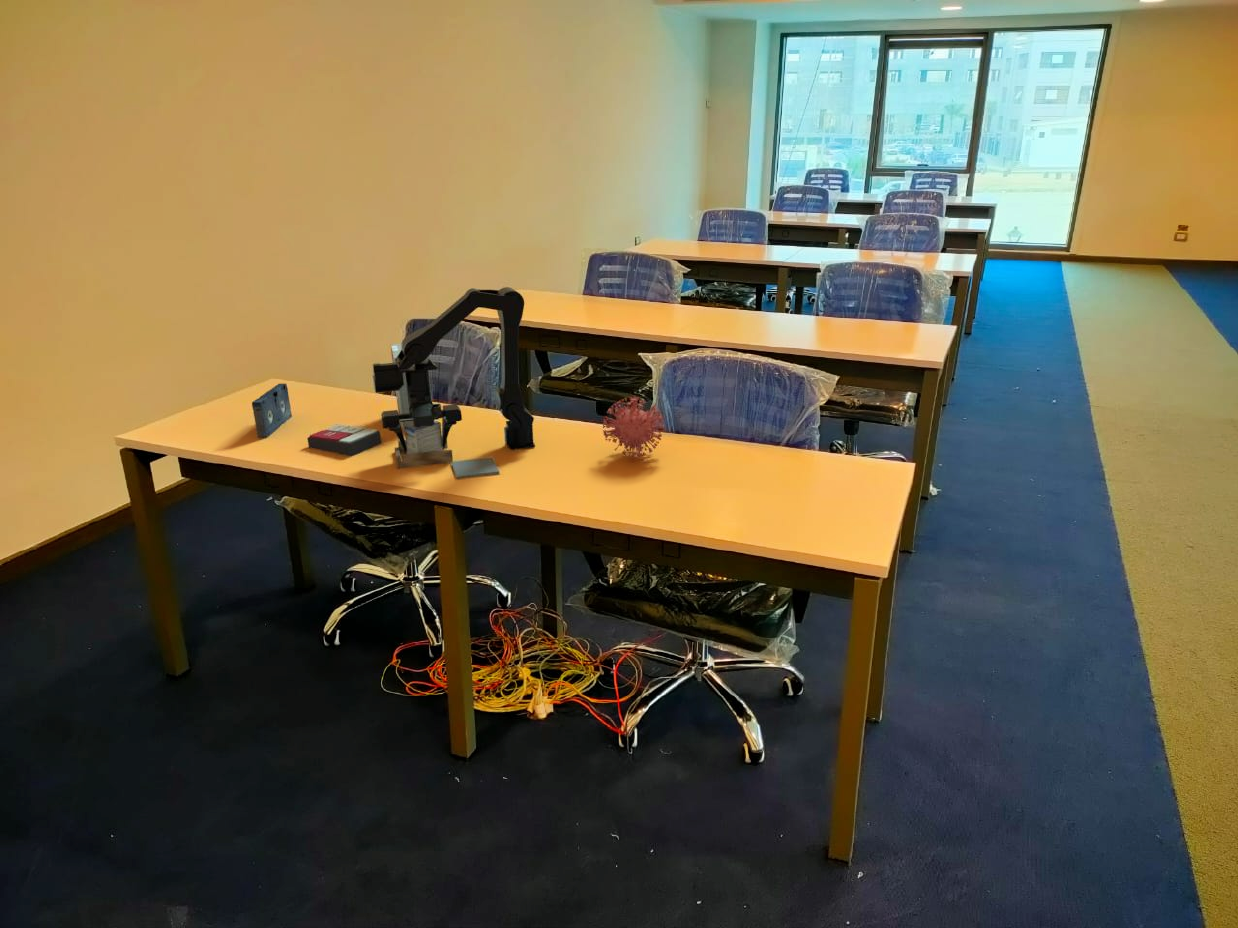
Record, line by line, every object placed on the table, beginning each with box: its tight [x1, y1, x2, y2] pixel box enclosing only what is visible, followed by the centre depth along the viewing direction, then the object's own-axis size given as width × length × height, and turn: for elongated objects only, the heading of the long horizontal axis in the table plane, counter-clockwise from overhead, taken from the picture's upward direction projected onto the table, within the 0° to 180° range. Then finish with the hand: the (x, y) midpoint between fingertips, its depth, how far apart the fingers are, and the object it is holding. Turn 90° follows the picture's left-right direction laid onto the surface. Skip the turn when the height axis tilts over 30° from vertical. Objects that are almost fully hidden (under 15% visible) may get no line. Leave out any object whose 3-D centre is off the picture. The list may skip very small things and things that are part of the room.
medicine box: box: [403, 420, 444, 454], centre depth 211 cm, size 8×4×9 cm, turn 141°
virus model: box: [602, 396, 665, 459], centre depth 209 cm, size 15×15×15 cm
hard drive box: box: [390, 343, 413, 429], centre depth 237 cm, size 16×8×20 cm, turn 17°
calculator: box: [306, 424, 383, 457], centre depth 221 cm, size 11×4×15 cm
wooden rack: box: [394, 439, 454, 469], centre depth 212 cm, size 13×12×3 cm
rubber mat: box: [450, 456, 500, 480], centre depth 205 cm, size 10×10×1 cm
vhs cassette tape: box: [251, 383, 293, 439], centre depth 234 cm, size 18×3×10 cm, turn 178°
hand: (424, 449), depth 212 cm, fingers open, 9 cm apart
